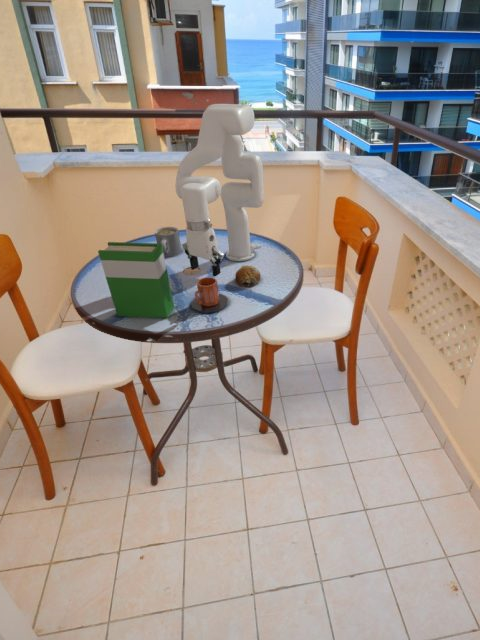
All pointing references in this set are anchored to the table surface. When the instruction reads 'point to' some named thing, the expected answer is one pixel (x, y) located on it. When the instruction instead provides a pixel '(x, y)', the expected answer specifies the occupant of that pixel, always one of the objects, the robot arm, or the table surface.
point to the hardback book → (137, 279)
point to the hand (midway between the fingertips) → (205, 271)
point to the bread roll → (247, 276)
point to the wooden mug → (207, 292)
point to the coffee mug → (169, 240)
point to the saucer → (211, 309)
